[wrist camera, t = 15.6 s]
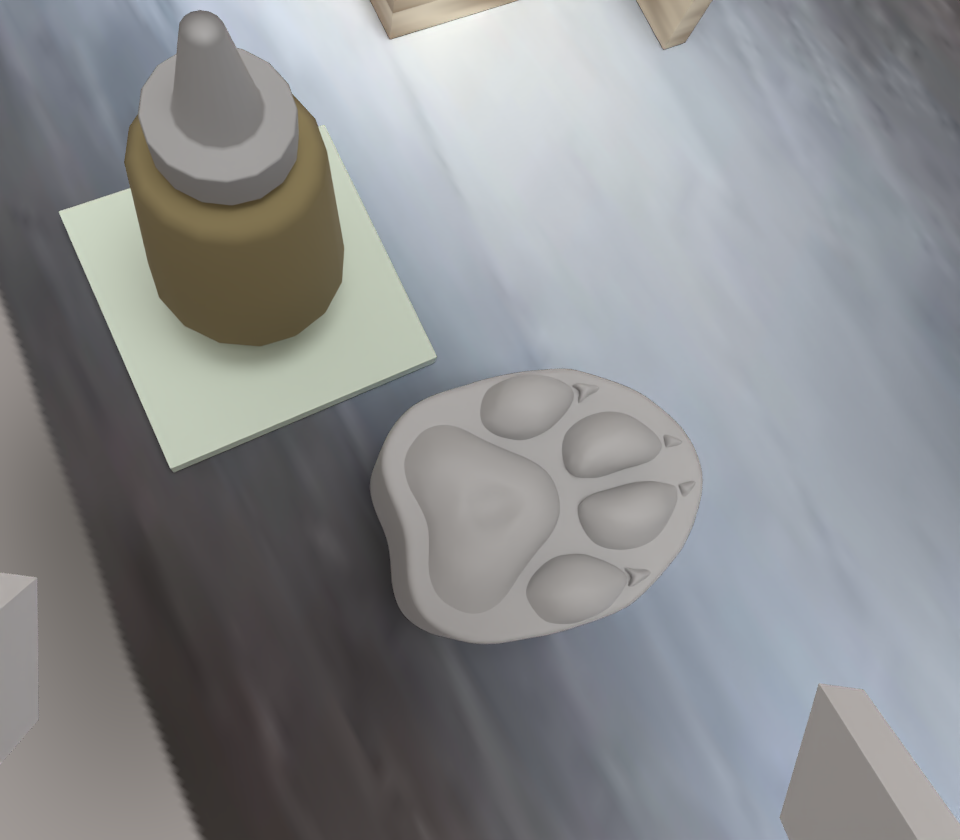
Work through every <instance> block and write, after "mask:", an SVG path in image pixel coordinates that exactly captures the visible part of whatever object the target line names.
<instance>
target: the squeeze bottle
mask: <svg viewBox="0 0 960 840" xmlns="http://www.w3.org/2000/svg"><path fill="white" fill-rule="evenodd" d="M124 163H125V167H126V171H127V176H128V180H129V184H130V188H131V193H132V197H133V201H134V206H135V210H136V214H137V218H138V223H139V227H140V231H141V235H142V240H143V244H144V248H145V252H146V257H147V261H148V265H149V268H150V271H151V274H152V277H153V280H154V283H155V286H156V289H157V293H158V296H159V298H160V299H161V300H162V301H163V303H164V304H165V305H166V306H167V307H168V308H169V309H170V310H171V311H172V313H173V314H174V315H175V316H176V317H177V318H178V319H179V320H180V321H181V323H182V324H183V325H184V326H186V327H188V328H190V329H192V330H194V331H196V332H198V333H200V334H202V335H204V336H206V337H208V338H210V339H213V340H215V341H217V342H219V343H225V344H237V345H249V346H264V345H267V344H270V343H274V342H277V341H281V340H284V339H288V338H291V337H294V336H296V335H298V334H299V333H300V332H302V331H303V330H304V329H305V328H307V327H308V326H309V325H310V324H312V323H313V322H314V321H316V320H317V319H318V318H319V317H321V316H322V315H323V314H325V312H326V311H327V309H328V307H329V305H330V303H331V301H332V300H333V298H334V296H335V294H336V292H337V290H338V289H339V287H340V285H341V283H342V275H343V261H344V243H343V237H342V232H341V226H340V221H339V215H338V209H337V204H336V198H335V192H334V187H333V181H332V176H331V170H330V164H329V159H328V153H327V150H326V147H325V144H324V141H323V139H322V136H321V133H320V131H319V128H318V125H317V122H316V120H315V118H314V117H313V116H312V115H311V114H310V113H309V112H308V111H307V109H306V108H305V107H304V106H303V105H302V104H301V103H300V102H299V101H298V100H297V99H296V97H295V96H294V95H293V94H292V92H291V90H290V87H289V84H288V83H287V82H286V81H285V80H284V79H283V78H282V76H281V75H280V74H279V73H278V72H277V71H276V70H275V69H274V68H273V67H272V66H271V64H270V63H268V62H266V61H265V60H263V59H261V58H259V57H257V56H255V55H253V54H251V53H249V52H247V51H245V50H243V49H239V48H236V46H235V44H234V43H233V41H232V39H231V37H230V35H229V33H228V31H227V29H226V27H225V25H224V23H223V22H222V20H221V19H220V18H219V17H218V16H217V15H215V14H213V13H211V12H208V11H201V10H199V11H194V12H190V13H189V14H187V15H185V16H184V17H183V19H182V20H181V22H180V24H179V32H178V43H177V54H175V55H174V56H172V57H170V58H169V59H167V60H166V61H164V62H162V63H161V64H159V65H158V66H157V67H156V68H155V70H154V71H153V73H152V74H151V76H150V77H149V79H148V80H147V82H146V83H145V84H144V86H143V87H142V89H141V96H140V103H139V110H138V115H137V116H136V118H135V119H134V121H133V122H132V124H131V125H130V127H129V132H128V140H127V147H126V154H125V161H124Z"/></svg>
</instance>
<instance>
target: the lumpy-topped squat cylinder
mask: <svg viewBox="0 0 960 840" xmlns="http://www.w3.org/2000/svg"><path fill="white" fill-rule="evenodd" d="M702 483H703V479H702V469H701V465H700V462H699V459H698V456H697V453H696V450H695V448H694V446H693V444H692V443H691V441H690V439H689V438H688V436H687V435H686V433H685V431H684V430H683V429H682V428H681V427H680V426H679V424H678V423H677V422H676V421H675V420H674V419H673V418H672V417H671V416H670V415H669V414H667V413H666V412H665V411H664V410H663V409H662V408H660V407H659V406H658V405H656V404H655V403H654V402H653V401H651V400H650V399H649V398H647V397H646V396H644V395H642V394H641V393H639V392H637V391H635V390H633V389H631V388H629V387H626V386H624V385H621V384H619V383H616V382H613V381H611V380H608V379H604V378H601V377H598V376H595V375H592V374H588V373H585V372H581V371H577V370H573V369H545V370H534V371H524V372H518V373H511V374H506V375H501V376H496V377H492V378H488V379H484V380H480V381H477V382H473V383H471V384H468V385H464V386H461V387H457V388H454V389H450V390H447V391H444V392H441V393H438V394H435V395H433V396H431V397H428V398H426V399H424V400H422V401H420V402H418V403H417V404H415V405H414V406H412V407H411V408H409V409H408V410H407V411H406V412H405V413H404V414H403V415H402V416H401V417H400V418H399V419H398V420H397V422H396V423H395V424H394V426H393V427H392V429H391V430H390V432H389V434H388V435H387V437H386V439H385V442H384V444H383V446H382V448H381V451H380V453H379V456H378V459H377V461H376V464H375V466H374V469H373V472H372V475H371V480H370V492H371V498H372V502H373V505H374V508H375V511H376V513H377V516H378V518H379V520H380V523H381V525H382V528H383V530H384V533H385V536H386V539H387V543H388V547H389V553H390V563H391V578H392V586H393V591H394V596H395V599H396V602H397V604H398V606H399V608H400V610H401V611H402V613H403V614H404V615H405V617H406V618H407V619H408V620H409V621H411V622H412V623H413V624H414V625H416V626H417V627H419V628H421V629H423V630H425V631H427V632H429V633H432V634H435V635H438V636H442V637H446V638H450V639H455V640H459V641H463V642H468V643H475V644H498V643H505V642H511V641H517V640H522V639H527V638H533V637H540V636H545V635H550V634H553V633H557V632H561V631H565V630H568V629H571V628H575V627H578V626H581V625H584V624H587V623H590V622H593V621H596V620H599V619H601V618H604V617H606V616H609V615H611V614H614V613H616V612H618V611H620V610H622V609H624V608H626V607H628V606H629V605H631V604H632V603H633V602H635V601H636V600H637V599H638V598H639V597H640V596H641V595H642V594H644V593H645V592H646V591H647V590H648V589H649V588H650V587H651V586H652V585H653V584H654V582H655V581H656V580H657V579H658V578H659V577H660V576H661V575H662V573H663V572H664V571H665V570H666V569H667V567H668V566H669V565H670V564H671V563H672V561H673V560H674V559H675V558H676V556H677V555H678V554H679V552H680V551H681V549H682V547H683V546H684V544H685V542H686V540H687V538H688V536H689V534H690V531H691V529H692V527H693V524H694V521H695V518H696V514H697V511H698V508H699V504H700V499H701V494H702Z"/></svg>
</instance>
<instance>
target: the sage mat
mask: <svg viewBox="0 0 960 840" xmlns="http://www.w3.org/2000/svg"><path fill="white" fill-rule="evenodd" d="M318 128H319V131H320V133H321V136H322V139H323V141H324V144H325V147H326V150H327V153H328V159H329V164H330V170H331V176H332V181H333V187H334V192H335V198H336V204H337V209H338V215H339V221H340V226H341V232H342V237H343V243H344V261H343V275H342V283H341V285H340V287H339V289H338V290H337V292H336V294H335V296H334V298H333V300H332V301H331V303H330V305H329V307H328V309H327V311H326V312H325V314H323V315H322V316H321V317H319V318H318V319H317V320H316V321H314V322H313V323H312V324H310V325H309V326H308V327H307V328H305V329H304V330H303V331H302V332H300V333H299V334H298V335H296V336H294V337H291V338H288V339H284V340H281V341H277V342H274V343H270V344H267V345H264V346H249V345H237V344H225V343H219V342H217V341H215V340H213V339H210V338H208V337H206V336H204V335H202V334H200V333H198V332H196V331H194V330H192V329H190V328H188V327H186V326H184V325H183V324H182V323H181V321H180V320H179V319H178V318H177V317H176V316H175V315H174V314H173V313H172V311H171V310H170V309H169V308H168V307H167V306H166V305H165V304H164V303H163V301H162V300H161V299H160V298H159V296H158V293H157V289H156V286H155V283H154V280H153V277H152V274H151V271H150V268H149V265H148V261H147V257H146V252H145V248H144V244H143V240H142V235H141V231H140V227H139V223H138V218H137V214H136V210H135V206H134V201H133V197H132V193H131V188H129V189H126V190H123V191H120V192H117V193H114V194H111V195H108V196H105V197H102V198H99V199H96V200H93V201H90V202H87V203H84V204H81V205H77V206H74V207H71V208H68V209H65V210H62V211H59V214H60V216H61V218H62V221H63V223H64V225H65V228H66V230H67V232H68V234H69V237H70V239H71V241H72V244H73V246H74V248H75V251H76V253H77V255H78V257H79V260H80V262H81V264H82V267H83V269H84V271H85V274H86V276H87V278H88V280H89V283H90V285H91V287H92V290H93V292H94V294H95V297H96V299H97V301H98V303H99V306H100V308H101V310H102V313H103V315H104V317H105V320H106V322H107V324H108V326H109V329H110V331H111V333H112V336H113V338H114V340H115V343H116V345H117V347H118V349H119V352H120V354H121V356H122V359H123V361H124V363H125V366H126V368H127V370H128V372H129V375H130V377H131V379H132V382H133V384H134V386H135V389H136V391H137V393H138V395H139V398H140V400H141V402H142V405H143V407H144V409H145V412H146V414H147V416H148V418H149V421H150V423H151V425H152V428H153V430H154V432H155V435H156V437H157V439H158V441H159V444H160V446H161V448H162V451H163V453H164V455H165V458H166V460H167V462H168V464H169V467H170V469H171V470H172V471H173V472H177V471H179V470H181V469H184V468H186V467H188V466H191V465H193V464H195V463H198V462H200V461H203V460H205V459H207V458H210V457H212V456H214V455H217V454H219V453H222V452H224V451H226V450H229V449H231V448H233V447H236V446H238V445H241V444H243V443H245V442H248V441H250V440H252V439H255V438H257V437H259V436H262V435H264V434H267V433H269V432H271V431H274V430H276V429H278V428H281V427H283V426H286V425H288V424H290V423H293V422H295V421H297V420H300V419H302V418H305V417H307V416H309V415H312V414H314V413H316V412H319V411H321V410H323V409H326V408H328V407H331V406H333V405H335V404H338V403H340V402H342V401H345V400H347V399H350V398H352V397H354V396H357V395H359V394H361V393H364V392H366V391H369V390H371V389H373V388H376V387H378V386H380V385H383V384H385V383H388V382H390V381H392V380H395V379H397V378H399V377H402V376H404V375H406V374H409V373H411V372H414V371H416V370H418V369H421V368H423V367H425V366H428V365H430V364H433V363H434V362H435V360H436V358H437V356H436V354H435V352H434V350H433V347H432V345H431V343H430V341H429V339H428V337H427V335H426V333H425V331H424V329H423V327H422V325H421V323H420V321H419V319H418V317H417V314H416V312H415V310H414V308H413V306H412V304H411V302H410V300H409V298H408V296H407V294H406V292H405V290H404V288H403V286H402V284H401V282H400V279H399V277H398V275H397V273H396V271H395V269H394V267H393V265H392V263H391V261H390V259H389V257H388V255H387V253H386V251H385V249H384V247H383V244H382V242H381V240H380V238H379V236H378V234H377V232H376V230H375V228H374V226H373V224H372V222H371V220H370V218H369V216H368V214H367V211H366V209H365V207H364V205H363V203H362V201H361V199H360V197H359V195H358V193H357V191H356V189H355V187H354V185H353V183H352V181H351V179H350V176H349V174H348V172H347V170H346V168H345V166H344V164H343V162H342V160H341V158H340V156H339V154H338V152H337V150H336V148H335V146H334V143H333V141H332V139H331V137H330V135H329V133H328V131H327V129H326V127H325V125H322V126H319V127H318Z"/></svg>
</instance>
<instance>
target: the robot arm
mask: <svg viewBox="0 0 960 840" xmlns="http://www.w3.org/2000/svg"><path fill="white" fill-rule="evenodd" d="M37 598H38V596H37V577H30V576H23V575H14V574H8V573H1V572H0V764H1V763H2V762H3V761H4V760H5V759H6V757H7V756H8V755H9V754H10V753H11V752H12V750H13V749H14V748H15V747H16V746H17V744H18V743H19V742H20V741H21V740H22V739H23V737H24V736H25V735H26V734H27V733H28V732H29V730H30V729H31V728H32V727H33V726H34V724H35V723H36V722H37V721H38V720H39V685H38V604H37V603H38V602H37ZM780 820H781V822H782V824H783V827H784V829H785V831H786V833H787V836H788V838H789V840H960V824H959V822H958V821H957V820H956V818H955V817H954V815H953V814H952V813H951V811H950V810H949V808H948V807H947V806H946V804H945V803H944V801H943V800H942V799H941V797H940V796H939V794H938V793H937V792H936V790H935V789H934V787H933V786H932V785H931V783H930V782H929V780H928V779H927V778H926V776H925V775H924V773H923V772H922V771H921V769H920V768H919V766H918V765H917V764H916V762H915V761H914V759H913V758H912V757H911V755H910V754H909V752H908V751H907V750H906V748H905V747H904V745H903V744H902V743H901V741H900V740H899V738H898V737H897V736H896V734H895V733H894V731H893V730H892V729H891V727H890V726H889V724H888V723H887V722H886V720H885V719H884V717H883V716H882V715H881V713H880V712H879V710H878V709H877V708H876V706H875V705H874V703H873V702H872V701H871V699H870V698H869V696H868V695H867V694H866V692H865V691H864V690H863V689H856V688H848V687H841V686H834V685H826V684H818V688H817V691H816V695H815V698H814V702H813V705H812V709H811V712H810V715H809V719H808V722H807V726H806V729H805V733H804V736H803V739H802V743H801V746H800V750H799V753H798V757H797V760H796V763H795V767H794V770H793V774H792V777H791V781H790V784H789V787H788V791H787V794H786V798H785V801H784V805H783V808H782V811H781V815H780Z"/></svg>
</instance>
